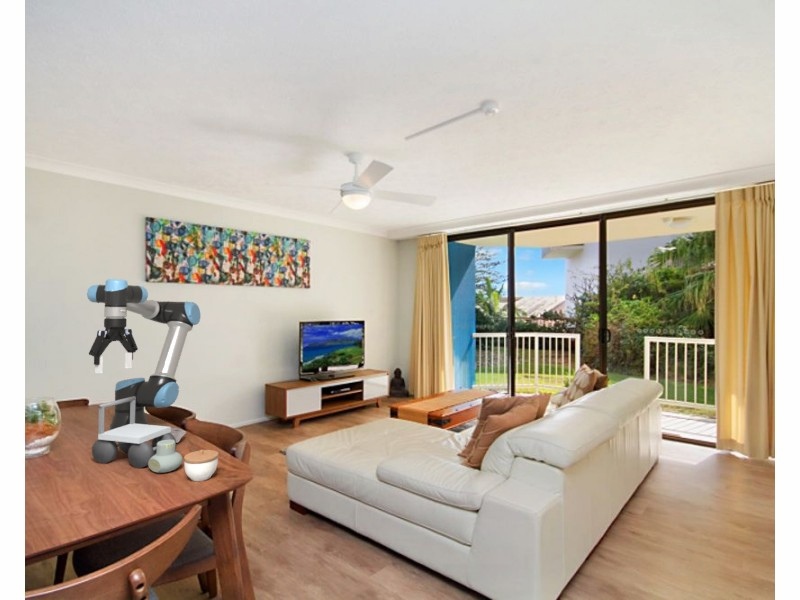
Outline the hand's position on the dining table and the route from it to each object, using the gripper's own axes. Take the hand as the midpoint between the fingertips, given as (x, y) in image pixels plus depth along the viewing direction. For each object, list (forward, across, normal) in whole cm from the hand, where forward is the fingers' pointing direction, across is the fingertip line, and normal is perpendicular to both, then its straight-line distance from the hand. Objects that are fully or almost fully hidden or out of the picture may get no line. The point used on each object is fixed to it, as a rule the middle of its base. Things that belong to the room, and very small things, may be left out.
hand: (114, 370), depth 173 cm
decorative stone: (+32, +15, -13) cm, 38 cm away
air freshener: (+32, -12, -36) cm, 49 cm away
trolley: (+32, -6, -17) cm, 36 cm away
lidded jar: (+32, -14, -52) cm, 63 cm away
